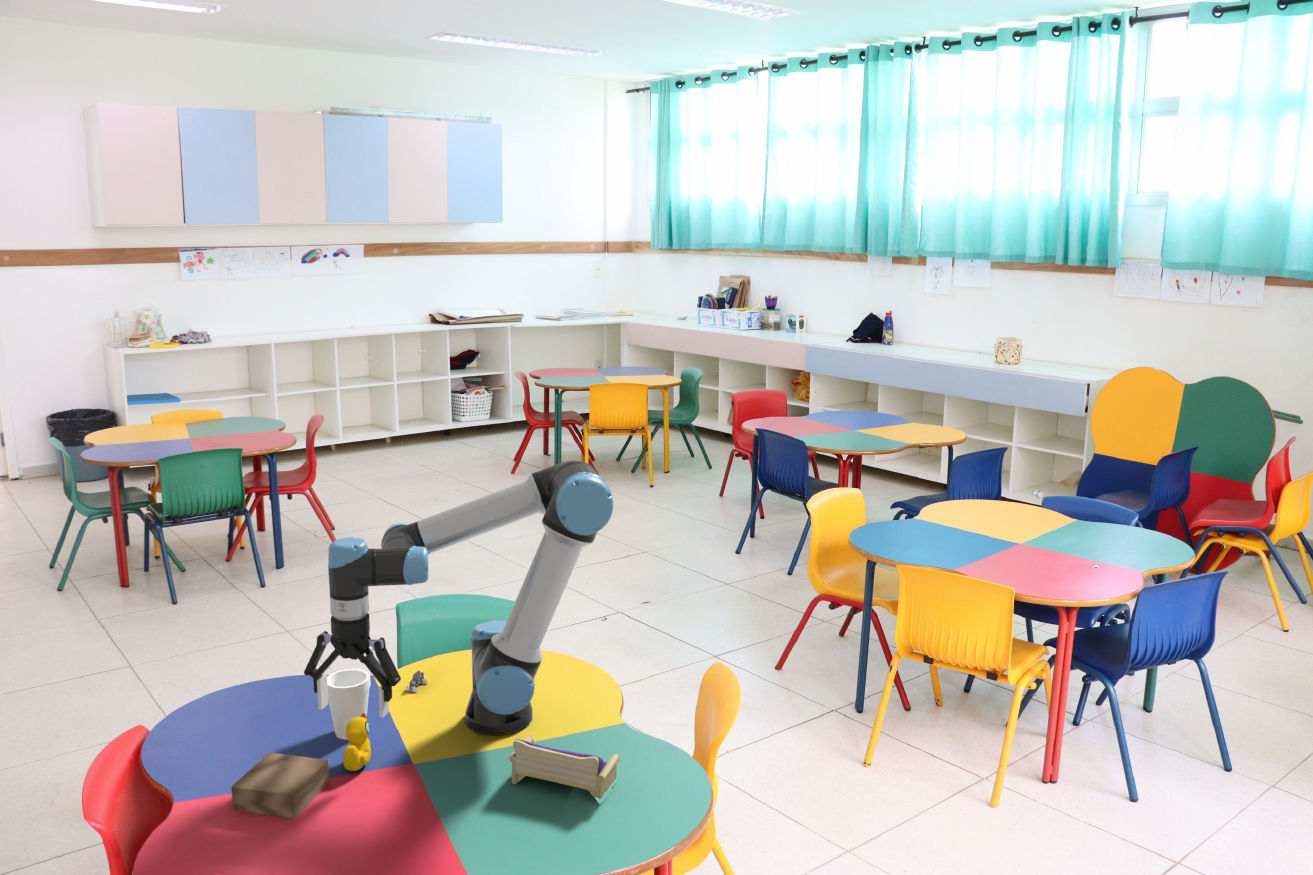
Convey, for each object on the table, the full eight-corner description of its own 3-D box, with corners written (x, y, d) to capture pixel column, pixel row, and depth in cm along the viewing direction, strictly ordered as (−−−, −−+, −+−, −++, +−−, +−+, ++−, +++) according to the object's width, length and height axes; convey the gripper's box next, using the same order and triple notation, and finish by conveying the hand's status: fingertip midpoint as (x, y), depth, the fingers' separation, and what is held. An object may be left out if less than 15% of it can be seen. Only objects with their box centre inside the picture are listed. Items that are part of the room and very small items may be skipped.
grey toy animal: (421, 697, 244) (420, 680, 244) (397, 693, 247) (396, 675, 246) (454, 671, 258) (453, 655, 257) (431, 667, 260) (430, 651, 259)
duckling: (353, 749, 220) (351, 707, 217) (378, 750, 220) (376, 707, 217) (337, 778, 209) (334, 733, 206) (363, 779, 209) (360, 734, 206)
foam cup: (378, 723, 231) (376, 670, 228) (363, 744, 222) (360, 689, 219) (338, 721, 232) (335, 667, 229) (321, 741, 223) (317, 686, 220)
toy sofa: (620, 784, 209) (620, 738, 206) (603, 806, 201) (604, 759, 198) (527, 764, 215) (527, 720, 213) (508, 785, 207) (507, 739, 205)
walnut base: (329, 782, 207) (327, 759, 206) (294, 818, 195) (293, 795, 194) (270, 774, 210) (269, 752, 208) (233, 810, 197) (231, 786, 196)
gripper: (283, 614, 205) (288, 711, 210) (399, 627, 201) (402, 726, 205) (303, 601, 212) (307, 695, 217) (415, 613, 208) (417, 709, 212)
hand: (353, 710), depth 211 cm, fingers open, 13 cm apart
